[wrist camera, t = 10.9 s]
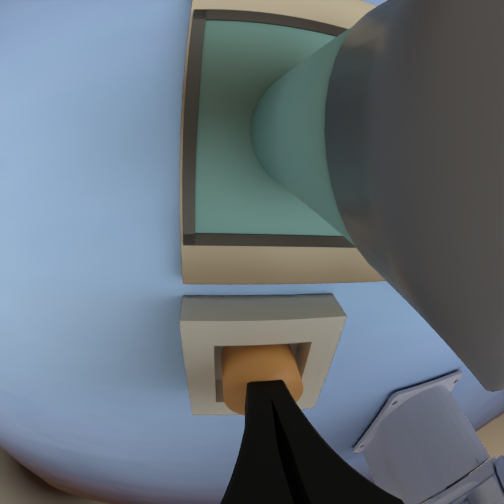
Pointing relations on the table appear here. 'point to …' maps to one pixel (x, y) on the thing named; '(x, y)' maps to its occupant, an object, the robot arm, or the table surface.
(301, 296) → the button housing
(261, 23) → the picture board
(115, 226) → the table surface
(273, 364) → the button
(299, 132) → the green grey cylinder
